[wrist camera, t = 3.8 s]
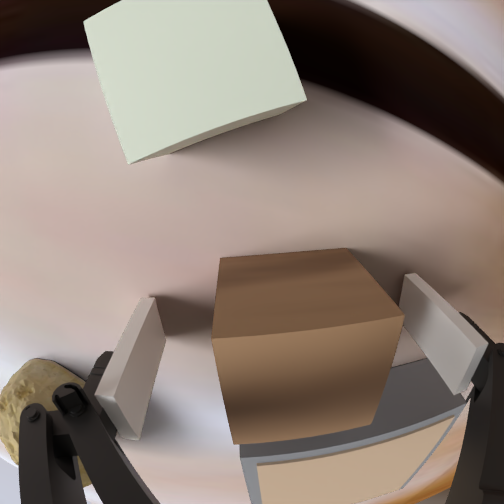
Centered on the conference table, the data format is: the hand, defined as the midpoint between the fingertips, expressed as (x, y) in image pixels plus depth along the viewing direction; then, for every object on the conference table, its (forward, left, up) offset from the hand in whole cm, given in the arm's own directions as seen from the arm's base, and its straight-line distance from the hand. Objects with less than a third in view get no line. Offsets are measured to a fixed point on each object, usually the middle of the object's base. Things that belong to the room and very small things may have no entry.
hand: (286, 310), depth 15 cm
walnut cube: (0, 0, 0) cm, 0 cm away
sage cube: (-11, -3, 0) cm, 11 cm away
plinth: (+13, +4, 0) cm, 14 cm away
